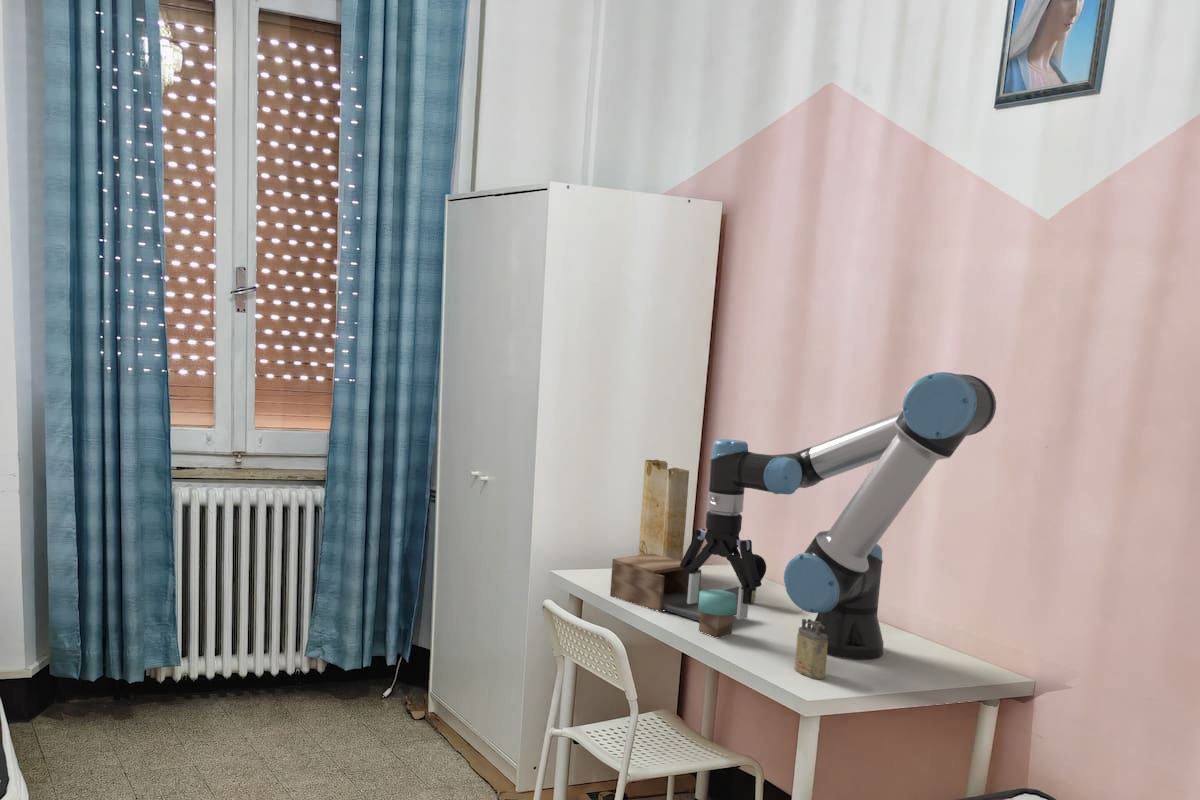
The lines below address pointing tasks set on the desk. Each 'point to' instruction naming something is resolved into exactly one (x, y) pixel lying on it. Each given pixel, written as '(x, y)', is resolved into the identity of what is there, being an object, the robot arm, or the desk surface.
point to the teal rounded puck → (717, 602)
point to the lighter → (811, 650)
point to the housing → (647, 579)
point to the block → (715, 624)
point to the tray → (680, 606)
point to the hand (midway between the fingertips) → (716, 610)
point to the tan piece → (663, 510)
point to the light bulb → (761, 571)
